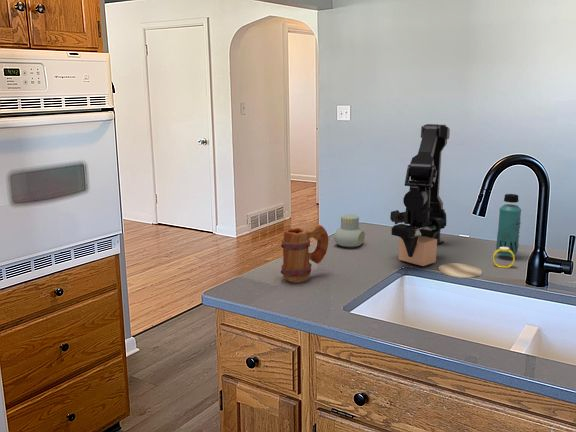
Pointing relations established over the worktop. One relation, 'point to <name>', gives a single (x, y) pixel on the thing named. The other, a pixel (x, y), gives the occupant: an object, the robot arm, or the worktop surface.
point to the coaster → (460, 270)
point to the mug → (302, 252)
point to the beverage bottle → (509, 226)
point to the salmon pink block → (419, 251)
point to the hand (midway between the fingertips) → (417, 254)
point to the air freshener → (349, 232)
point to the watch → (503, 250)
